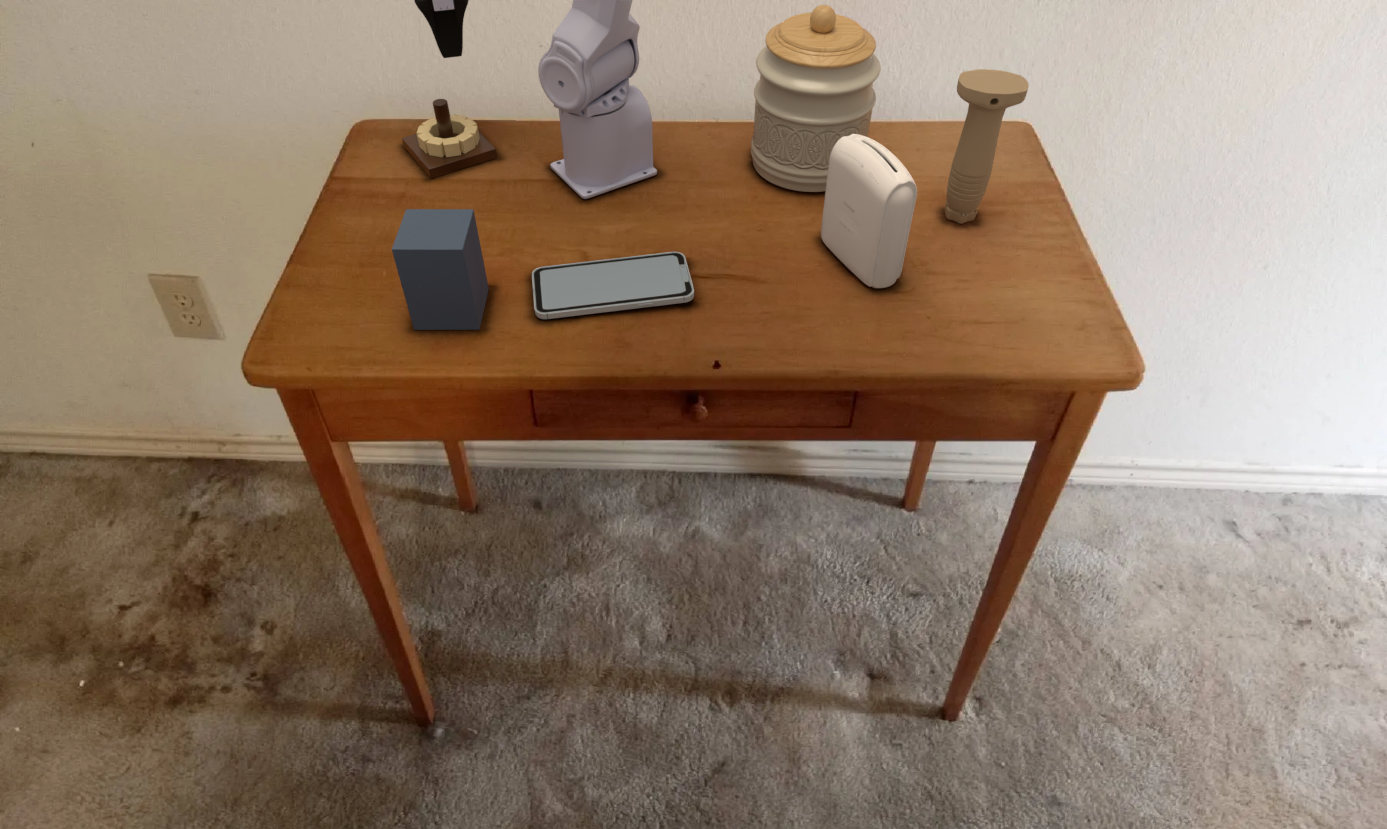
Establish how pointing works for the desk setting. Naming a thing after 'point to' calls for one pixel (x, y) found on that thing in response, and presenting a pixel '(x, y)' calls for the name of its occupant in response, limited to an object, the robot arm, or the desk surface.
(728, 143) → the desk surface
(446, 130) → the stand
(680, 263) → the smartphone
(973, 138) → the handle
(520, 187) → the desk surface
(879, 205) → the photo printer
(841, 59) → the jar
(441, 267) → the block
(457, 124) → the bracelet
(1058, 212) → the desk surface
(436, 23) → the robot arm
